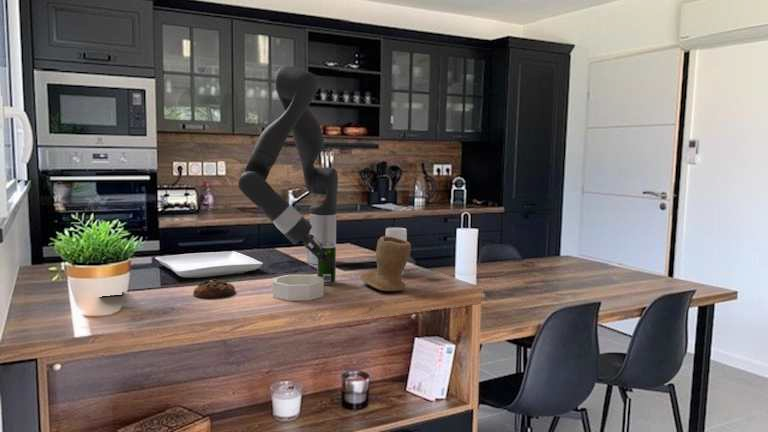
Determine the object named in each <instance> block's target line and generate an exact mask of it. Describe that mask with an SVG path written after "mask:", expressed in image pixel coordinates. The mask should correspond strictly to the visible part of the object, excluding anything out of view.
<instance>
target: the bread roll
mask: <svg viewBox="0 0 768 432" xmlns="http://www.w3.org/2000/svg"><path fill="white" fill-rule="evenodd" d="M235 291H236V288H235V285H233V284H232V283H230V282H226V281H225V280H223V279H220V280H218V279H216V278H213V279H211V280H204V281H202V282H200V284H198V285H197V286H196V287H195V288H194V290H193V292H192V294H193V295H194V296H195V298H202V299H223V297H225V298H228V297H230V296H233V295H234V293H235ZM227 296H228V297H227Z"/></svg>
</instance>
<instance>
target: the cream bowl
mask: <svg viewBox="0 0 768 432" xmlns="http://www.w3.org/2000/svg"><path fill="white" fill-rule="evenodd" d="M324 286H325V285H324V281H323V278H322V277H318V276H317V275H314V274H285V275H281V276H277V277H276V276H275V277H273V279H272V298H275V299H280V300H283V301H287V302H288V301H289V302H293V301H311V300H316V299H319V298H321V297H324V295H325V294H324Z"/></svg>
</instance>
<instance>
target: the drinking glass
mask: <svg viewBox="0 0 768 432" xmlns="http://www.w3.org/2000/svg"><path fill="white" fill-rule="evenodd" d="M407 231H408V230H407V228H404V227H386V228H385V236H388V237H394V238H397V239H402V240H405V241H407V240H408V239H407V238H408V236H407V235H408V233H407ZM404 273H405V271H404V270H403V272H402V276H404Z"/></svg>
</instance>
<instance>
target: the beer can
mask: <svg viewBox="0 0 768 432" xmlns="http://www.w3.org/2000/svg"><path fill="white" fill-rule="evenodd" d="M319 244H320V245H321V246H322V247H323V251H324V252H326V253H327V255H328V256H329V257H330V258H331V259H332V260H333V261H334V262H335V265H334V266H333V267H332V268H329V267H328V266H327V265H326V264H325V263H324V262H323V261H322V260H319V259H317V264H316V265H317V266H316V267H317V268H316V269H317V271H316V276H318V277H322V278H323V281H324V286H331V285H335V283H336V277H337V275H336V274H337V273H336V272H337V271H336V268H337V267H336V265H337V262H336V261H337V260H336V259H337V245H336V246H335V243H333V242H320V243H319ZM321 253H322V252H321V251H320V252H319V253H318V255H320V254H321Z"/></svg>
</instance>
